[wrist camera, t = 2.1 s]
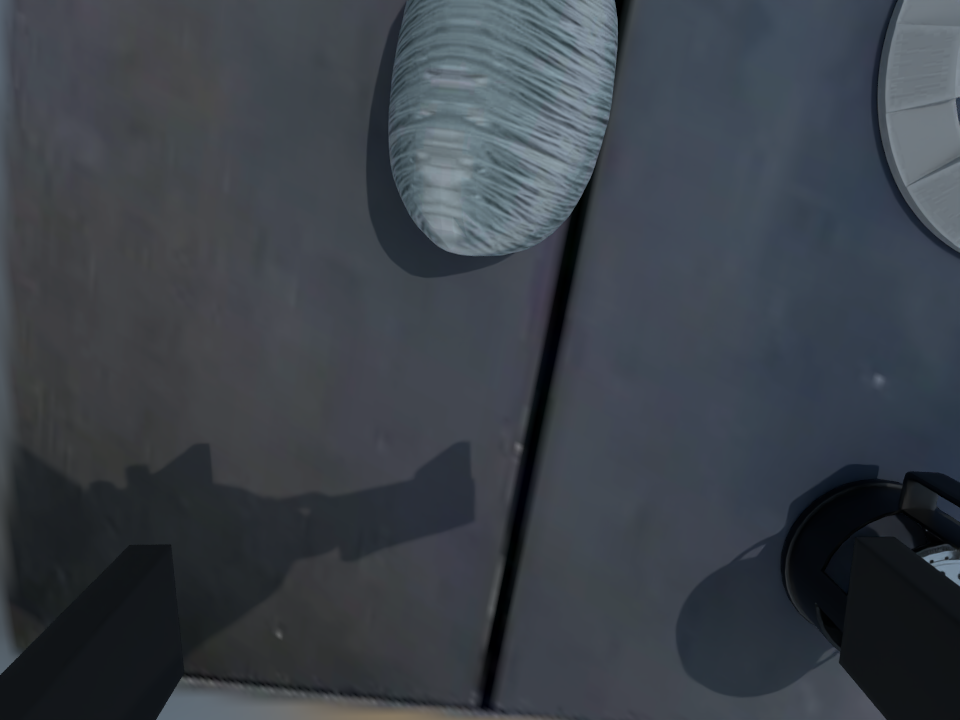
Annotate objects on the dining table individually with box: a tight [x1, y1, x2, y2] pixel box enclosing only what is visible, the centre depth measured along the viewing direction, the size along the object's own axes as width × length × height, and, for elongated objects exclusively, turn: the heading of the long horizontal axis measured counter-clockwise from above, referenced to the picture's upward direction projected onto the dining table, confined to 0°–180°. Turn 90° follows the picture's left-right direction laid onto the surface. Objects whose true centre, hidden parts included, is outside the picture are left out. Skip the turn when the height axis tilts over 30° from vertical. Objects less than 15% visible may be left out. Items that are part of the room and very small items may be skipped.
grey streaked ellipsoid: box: [388, 0, 618, 256], centre depth 28 cm, size 14×10×10 cm
